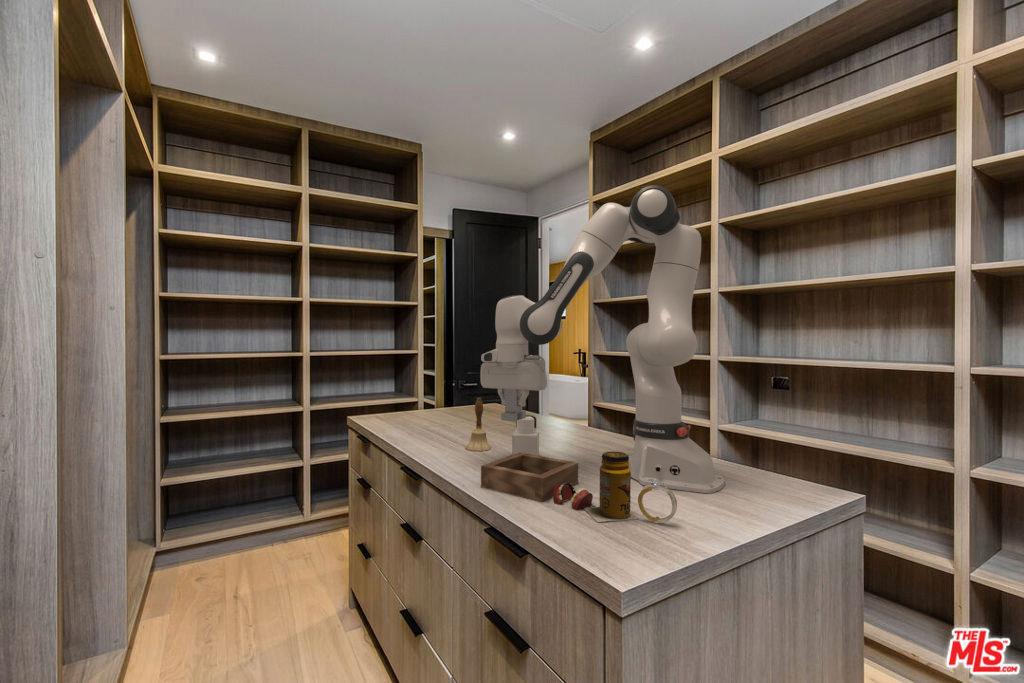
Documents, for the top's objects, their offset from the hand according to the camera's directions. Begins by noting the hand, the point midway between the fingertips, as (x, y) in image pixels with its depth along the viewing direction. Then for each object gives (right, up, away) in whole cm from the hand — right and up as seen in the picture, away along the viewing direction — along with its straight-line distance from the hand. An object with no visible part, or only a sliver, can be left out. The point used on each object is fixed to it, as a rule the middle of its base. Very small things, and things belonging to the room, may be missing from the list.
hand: (513, 405), depth 131 cm
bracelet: (+27, -17, -40) cm, 51 cm away
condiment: (+19, -17, -36) cm, 44 cm away
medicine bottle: (+4, -17, +10) cm, 19 cm away
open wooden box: (+4, -17, -18) cm, 24 cm away
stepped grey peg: (0, -4, 0) cm, 4 cm away
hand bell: (-11, -16, +20) cm, 28 cm away
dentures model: (+12, -17, -30) cm, 37 cm away
